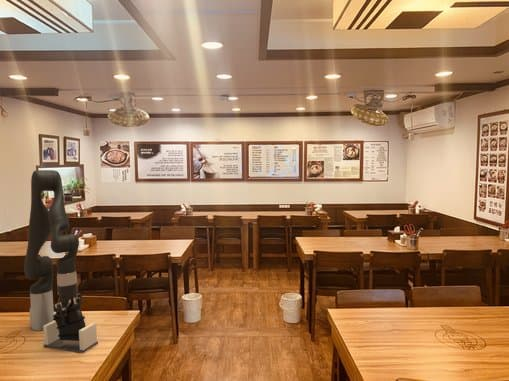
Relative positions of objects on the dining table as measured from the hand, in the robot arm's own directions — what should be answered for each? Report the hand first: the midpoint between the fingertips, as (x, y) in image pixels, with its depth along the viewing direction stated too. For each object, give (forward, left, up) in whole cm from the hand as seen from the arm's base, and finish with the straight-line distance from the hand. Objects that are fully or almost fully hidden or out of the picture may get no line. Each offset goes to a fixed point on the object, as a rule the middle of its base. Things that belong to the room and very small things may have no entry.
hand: (69, 322), depth 164 cm
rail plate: (0, 0, -10) cm, 10 cm away
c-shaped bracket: (0, 0, -10) cm, 10 cm away
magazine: (0, 0, -8) cm, 8 cm away
